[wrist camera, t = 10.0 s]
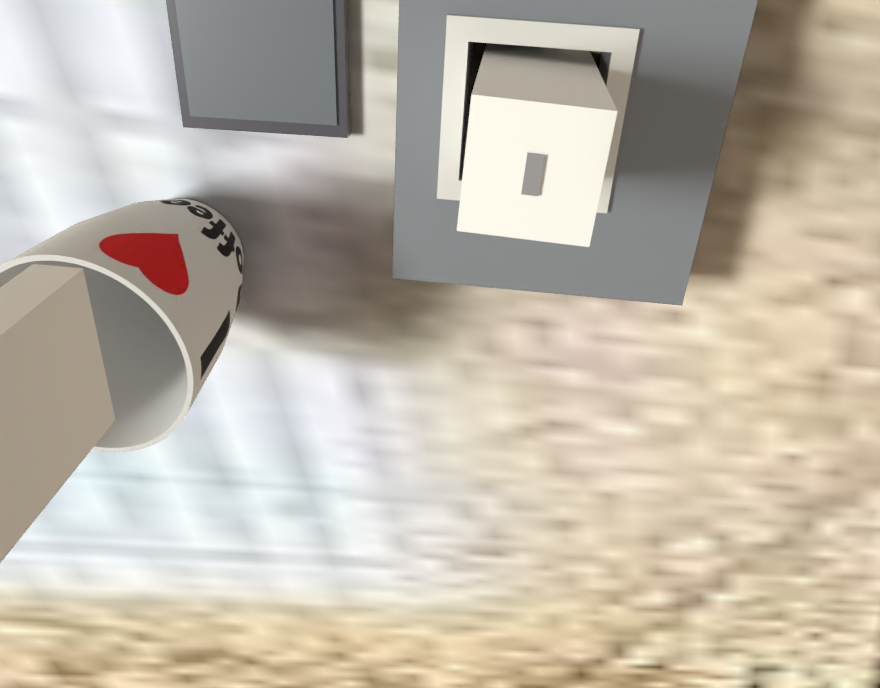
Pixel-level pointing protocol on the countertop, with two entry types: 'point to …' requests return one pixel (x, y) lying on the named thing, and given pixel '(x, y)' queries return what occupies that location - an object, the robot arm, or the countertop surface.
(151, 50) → the countertop surface
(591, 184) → the block
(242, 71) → the phone
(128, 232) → the cup
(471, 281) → the plate
